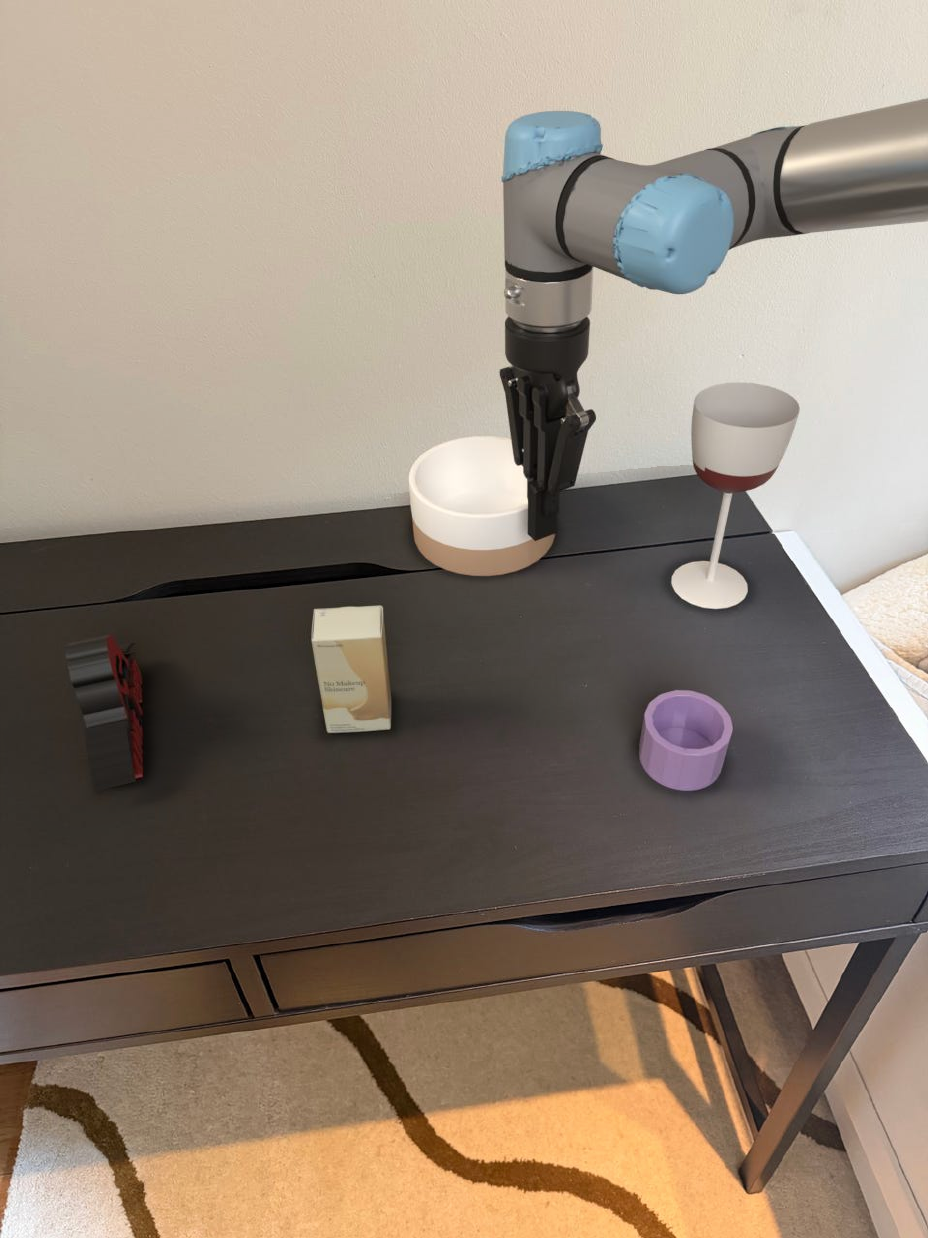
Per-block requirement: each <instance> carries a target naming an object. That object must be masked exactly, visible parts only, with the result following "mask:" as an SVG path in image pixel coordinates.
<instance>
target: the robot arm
mask: <svg viewBox="0 0 928 1238" xmlns="http://www.w3.org/2000/svg"><path fill="white" fill-rule="evenodd" d="M603 146H604V145H603V143H602V127H601V124H600V122H599V121H598V119H596V118H595V117H593V116H592V115H591V114H588V113H585V112H580V111H575V110H574V111H572V110H545V111H537V112H533V113H528V114H524V115H522V116H519V117H517V118H516V119H514V120H513V121H512V122H511V123H510V124H509V125H508V127H507V129H506V131H505V135H504V148H503V149H504V150H503V164H502V165H503V167H502V168H503V169H502V175H501V177H500V178H501V182H502V183H503V184H502V189H503V190H502V193H503V196H502V198H503V200H502V201H503V244H504V246H503V248H504V249H503V250H504V251H503V252H504V253H503V255H504V268H505V270H504V271H505V272H504V276H505V277H504V283H505V284H504V286H505V287H504V290H503V296H504V311H505V314H506V315H507V316H506V319H505V321H504V355H505V358H506V360H507V362H508V363H509V365H510V366H506V367H503V368H500V369H499V378H500V381H501V384H502V387H503V391H504V394H505V403H506V410H507V418H508V426H509V433H510V438H511V441H512V449H513V456H514V461H515V463H516V465H517V466H519V465H522V466H523V473H524V476H525V478H526V479H527V499H528V535H529V536H530V537H531V538H532V539H533V540H534V541H537V540H540V539H542V538H545V537H547V536H550V535H553V534H555V535H556V534H557V533H558V528H557V527H558V513H559V512H560V511H559V510H560V497H561V495H560V494H561V492H562V491H565V490H567V489H570V488H573V487H575V486H576V481H577V477H578V473H579V470H580V465H581V461H582V458H583V454H584V449H585V446H586V442H587V437H588V434H589V430H590V429H591V428H592V427H593V425H594V424H595V423H596V421H597V415H596V412H595V411H594V410H593V409H591V408H590V409H584V407H583V405H582V403H581V401H580V400H579V396H580V391H581V389H580V384H579V380H578V379H579V378H578V372H579V370H580V368H581V367H582V365H583V364H584V363H585V361H587V358H588V356H589V350H590V349H589V348H590V331H591V321H590V317H588V316H589V315H590V314H591V312H592V308H593V307H592V306H593V287H594V286H593V285H594V284H593V283H594V268H596V269H598V270H601V271H603V272H606V273H608V274H611V275H614V276H616V277H618V278H620V279H623V280H626V281H628V282H630V283H631V284H633V285H636V286H637V287H640V288H646V289H648V290H654V291H661V292H665V293H668V294H672V295H686V294H690V293H693V292H695V291H698V290H699V289H701V288H703V286H705V284H706V283H707V281H708V278H709V277H710V276H712V275H715V274H716V273H717V272H718V270H719V269H720V268H721V266H722V265H723V262H724V261H725V258H726V256H727V254H728V252H729V251H730V250H732V249H734V248H737V247H740V246H742V245H743V246H744V245H746V244H749V243H751V242H755V241H760V240H765V239H773V238H784V237H794V236H799V235H807V234H812V233H814V234H815V233H823V232H824V233H825V232H833V231H842V230H853V229H862V228H864V229H865V228H872V227H873V228H874V227H875V228H876V227H883V226H895V225H905V224H915V223H924V222H928V97H926V98H922V99H917V100H912V101H908V102H903V103H899V104H894V105H889V106H885V107H880V108H876V109H870V110H867V111H862V112H856V113H852V114H848V115H842V116H839V117H833V118H829V119H825V120H820V121H815V122H810V123H808V124H806V125H791V126H777V127H773V128H772V127H771V128H768V129H765V130H760V131H758V132H755V133H752V134H751V135H750V136H747V137H744V138H740V139H737V140H734V141H731V142H727V143H725V144H721V145H718V146H716V147H710V148H706V149H703V150H699V151H696V152H693V153H689V154H686V155H683V156H679V157H676V158H672V159H668V160H666V161H661V162H659V163H655V164H649V165H648V164H647V165H646V164H637V163H633V162H627V161H623V160H618V159H615V158H613V157H610V156H607V155H603V154H601V153H602V151H603V148H604V147H603ZM522 449H523V451H522Z"/></svg>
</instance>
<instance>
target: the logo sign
mask: <svg viewBox="0 0 928 1238" xmlns="http://www.w3.org/2000/svg"><path fill="white" fill-rule="evenodd" d="M134 645H136V643H135V642H129V643H125V644H120V645H119V644H117V642H116V640H115V637H114V636H113V635H111V634H105V635H101V636H95V637H92V638H91V637H90V638H86V639H82V640H77V641H71V642H69V643H68V644H67V645H65V648H64V653H65V659H66V662H67V669H68V673H69V678H70V683H71V685H72V687H73V688H74V692H75V696H76V699H77V703H78V706H79V709H80V710H81V714H82V715H83V721H84V723H85V726H86V728H84V737H85V738H84V739H85V745H86V753H87V760H88V766H89V772H90V776H91V777H90V778H91V780H92V786H93V790H94V792H97V791H101V790H105V789H109V788H110V789H111V788H113V787H118V786H122V785H127V784H130V783H134V782H137V779H138V778H143V777H144V760H143V759H144V757H143V755H144V754H143V752H144V751H143V748H142V747H143V727H142V726H143V725H144V724H143V723H144V722H143V719H142V717H143V709H142V707H141V704H142V703H143V689H142V685H143V676H142V673H141V670H140V668H139V665H138V662H137V660H136V658H133V656H134V655H135V654H136V652H131V649H132V648H133V646H134ZM140 703H141V704H140Z"/></svg>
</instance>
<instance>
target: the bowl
mask: <svg viewBox="0 0 928 1238" xmlns="http://www.w3.org/2000/svg"><path fill="white" fill-rule="evenodd" d="M522 451H523V449H522ZM407 479H408V492H409V502H410V512H411V521H412V532H413V539H414V543H415V545H416V548H417V549H418V552H420V553H421V555H422V556H423V557H424V558H425V559H426V560H428V561H429V562H430V563H432V564H433V565H434V566H437V567H439V568H441V569H443V570H445V571H449V572H452V573H455V574H460V575H466V576H473V577H491V576H492V577H493V576H501V575H505V574H510V573H514V572H515V573H516V572H518V571H520V570H523V569H525V568H528V567H529V566H531V565H532V564H535V563H537V562H538V561H539V560H541V559H542V558H543V557H544V556H545V555H546V554H547V553H548V551H549V550H550V548H551V547H552V545H553V544H554V540H555V537H556V533H555V534H553V535H550V536H547V537H545V538H542V539H540V540H537V541H534V540H533V539H532V538H531V537H530V536H529V535H528V499H527V479H526V478H525V476H524V473H523V466H522V465H519V466H517V465H516V463H515V461H514V456H513V449H512V441H511V437H507V436H499V435H473V436H472V435H471V436H464V437H460V438H459V437H458V438H454V439H451V440H448V441H445V442H441V443H439V444H437V445H435V446H432V447H431V448H429V449H427V450H426V451H425V452H423V453H421V455H420V456H419V457H418V458H416V460H415V461H414V462H413V464H412V466H411V467H410V470H409V473H408V478H407Z"/></svg>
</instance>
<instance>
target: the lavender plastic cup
mask: <svg viewBox="0 0 928 1238" xmlns="http://www.w3.org/2000/svg"><path fill="white" fill-rule="evenodd" d="M733 731H734V728H733V723H732V718H731V716H730V714H729V713H728V712H727V710H726V709H725V708H724V706H723V705H722V704H721V703H720V702H718V701H717V700H715V699H714V698H712V697H711V696H709V695H707V694H704V693H701V692H697V691H694V690H687V689H686V690H685V689H674V690H671V691H667V692H662V693H661V694H659V695H657V696H656V697H655V698H653V699H652V700H651V701H649V703H648V704H647V707H646V708H645V711H644V714H643V721H642V727H641V733H640V739H639V745H638V747H639V749H638V757H639V762H640V765H641V766H642V769H643V770H644V771H645V773H646V774H647V775H648V776H649V778H651V779H652V780H654V781H655V782H656V783H658V784H660V785H662V786H663V787H666V788H668V789H670V790H671V789H672V790H674V791H675V790H676V791H681V792H694V791H699V790H702V789H705V788H707V787H709V786H711V785H712V784H713V783H714V782H716V781H717V780H718V778H720V775H721V773H722V771H723V770H722V769H723V767H724V764H725V762H726V761H725V760H726V759H727V753H728V750H729V747H730V742H731V738H732V735H733Z"/></svg>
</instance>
